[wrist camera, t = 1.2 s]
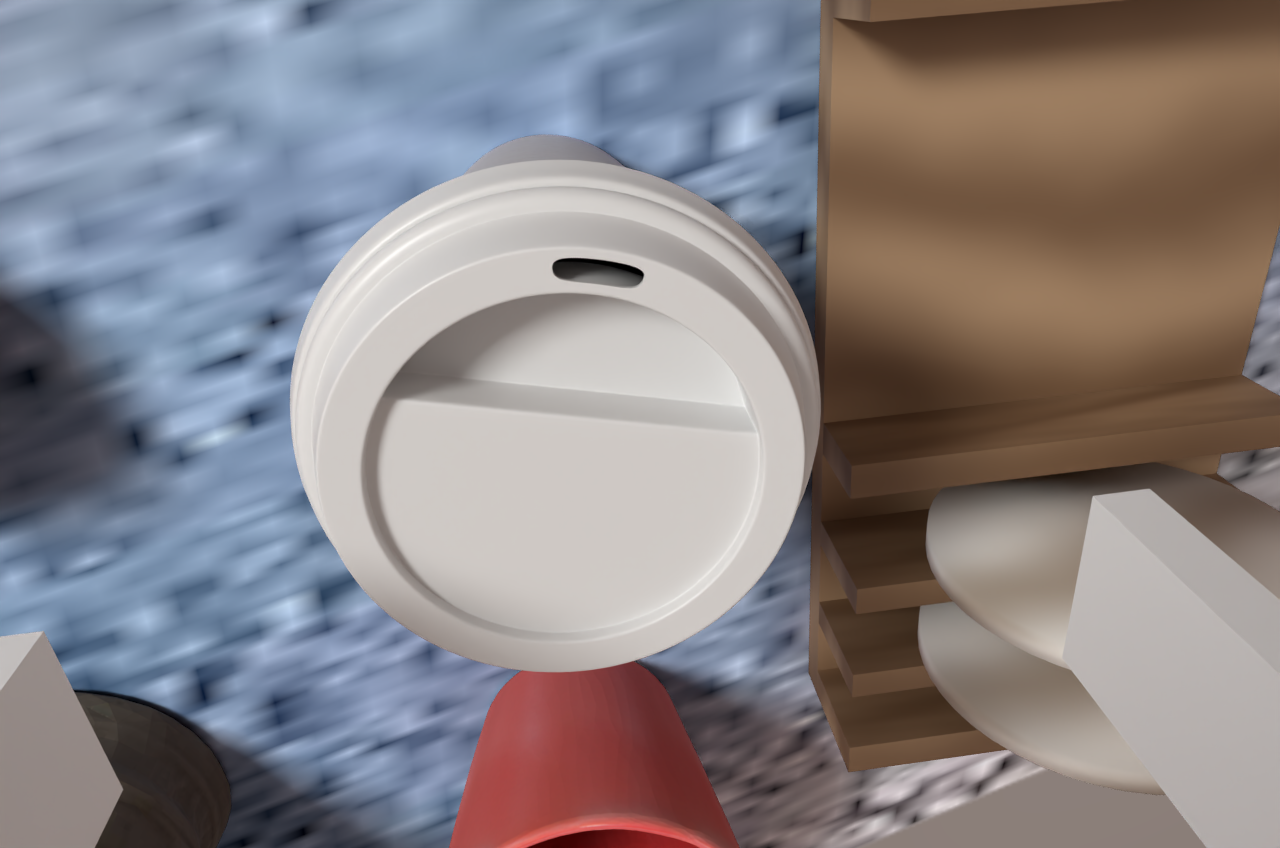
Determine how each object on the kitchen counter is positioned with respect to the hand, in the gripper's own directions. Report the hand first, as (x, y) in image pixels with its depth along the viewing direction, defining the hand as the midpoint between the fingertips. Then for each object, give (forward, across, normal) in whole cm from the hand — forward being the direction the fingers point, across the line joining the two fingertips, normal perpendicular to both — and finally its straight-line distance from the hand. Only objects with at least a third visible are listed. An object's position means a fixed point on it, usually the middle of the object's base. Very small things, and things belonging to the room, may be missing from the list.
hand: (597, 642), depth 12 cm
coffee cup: (+19, 0, 0) cm, 19 cm away
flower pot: (+18, -1, -20) cm, 27 cm away
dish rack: (+18, +16, -6) cm, 25 cm away
